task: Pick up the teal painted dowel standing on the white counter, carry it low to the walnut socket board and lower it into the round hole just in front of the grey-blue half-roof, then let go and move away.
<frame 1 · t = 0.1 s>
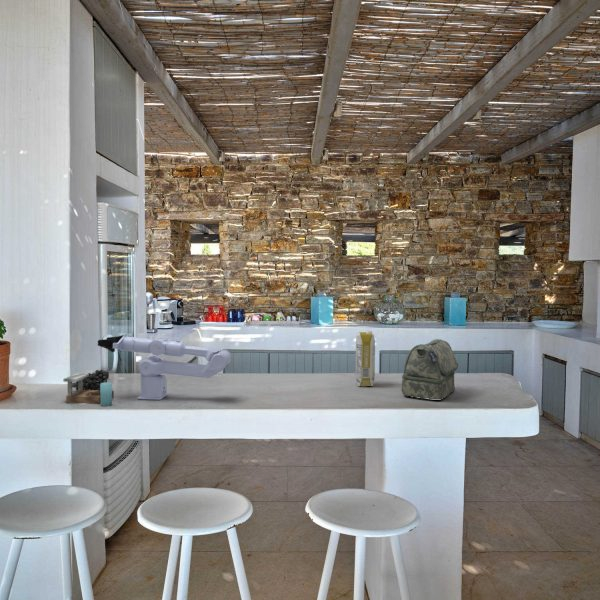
hand: (102, 341, 217), 22 cm above the bar counter, tool horizontal, fingers open, 7 cm apart
juice carton: (364, 385, 242), on the bar counter
socket station: (90, 399, 212), on the bar counter
lunch bag: (429, 394, 227), on the bar counter
fruit: (91, 391, 228), on the bar counter
peg: (106, 404, 205), on the bar counter
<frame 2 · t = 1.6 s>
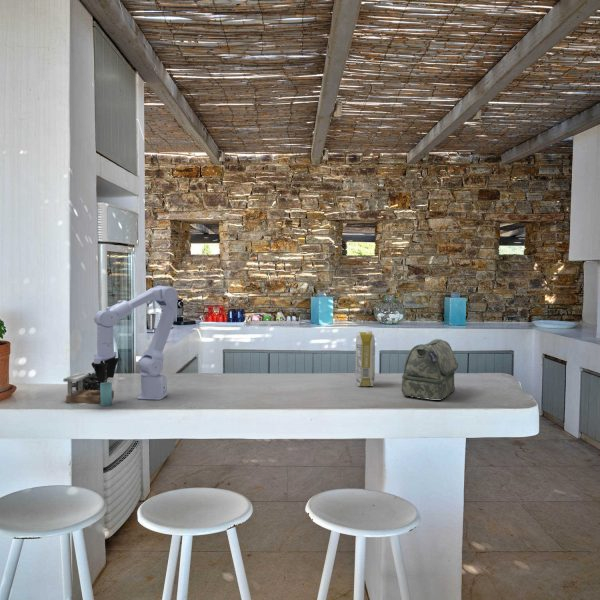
hand: (105, 379, 205), 9 cm above the bar counter, tool pointing down, fingers open, 7 cm apart
nothing on the bar counter moved.
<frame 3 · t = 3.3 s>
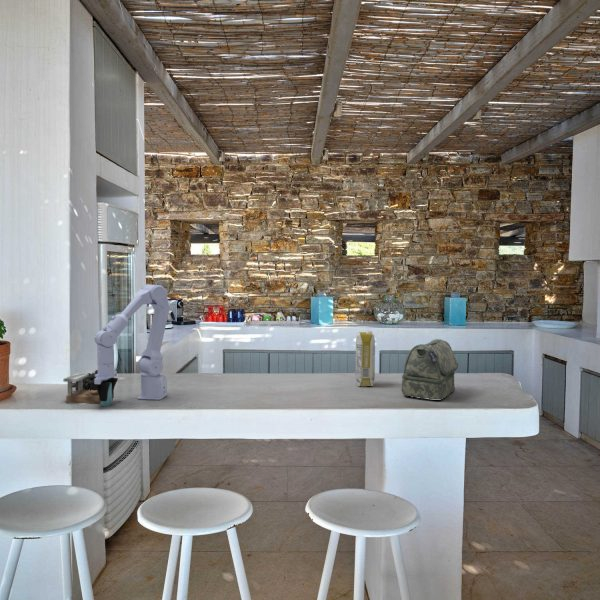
hand: (106, 399, 205), 2 cm above the bar counter, tool pointing down, fingers closed on peg, 4 cm apart
peg: (106, 404, 205), on the bar counter, touching gripper
everything else where it was.
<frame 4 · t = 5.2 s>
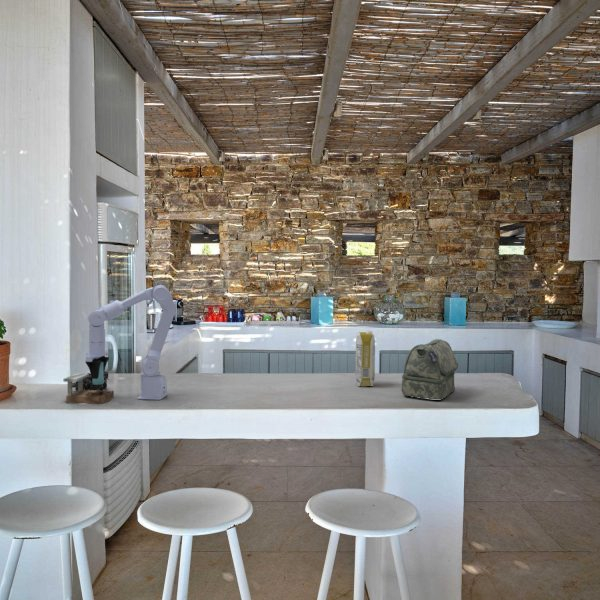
hand: (97, 377, 211), 9 cm above the bar counter, tool pointing down, fingers closed on peg, 4 cm apart
peg: (98, 383, 211), point 6 cm above the bar counter, touching gripper
everything else where it was.
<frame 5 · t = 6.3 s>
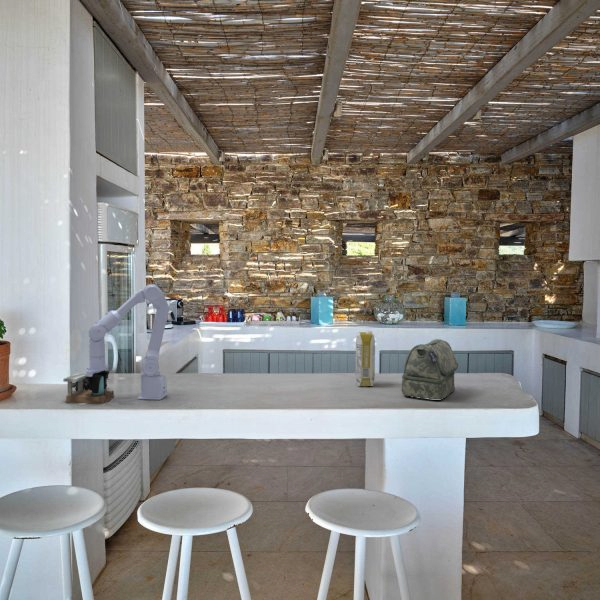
hand: (97, 391, 211), 3 cm above the bar counter, tool pointing down, fingers closed on peg, 4 cm apart
peg: (98, 397, 212), point 1 cm above the bar counter, touching gripper
everything else where it was.
when the fingers open (3 cm above the bar counter, at t = 7.3 s): peg stays where it is, resting in socket station.
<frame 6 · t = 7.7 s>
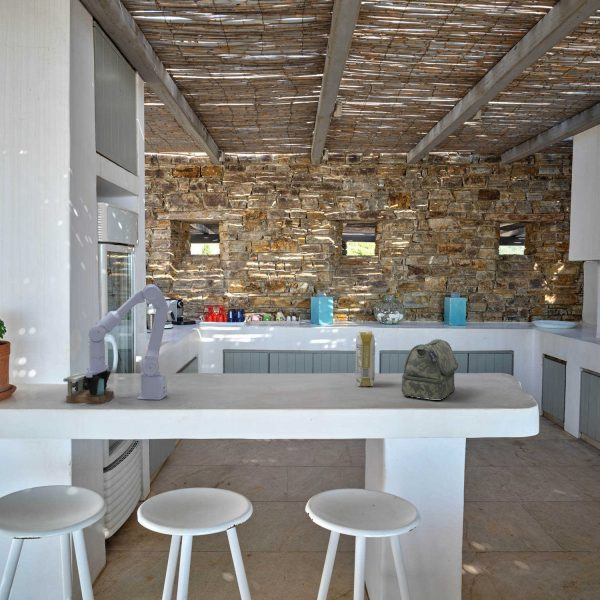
hand: (98, 392, 211), 3 cm above the bar counter, tool pointing down, fingers open, 7 cm apart
peg: (98, 400, 212), resting in socket station
everything else where it was.
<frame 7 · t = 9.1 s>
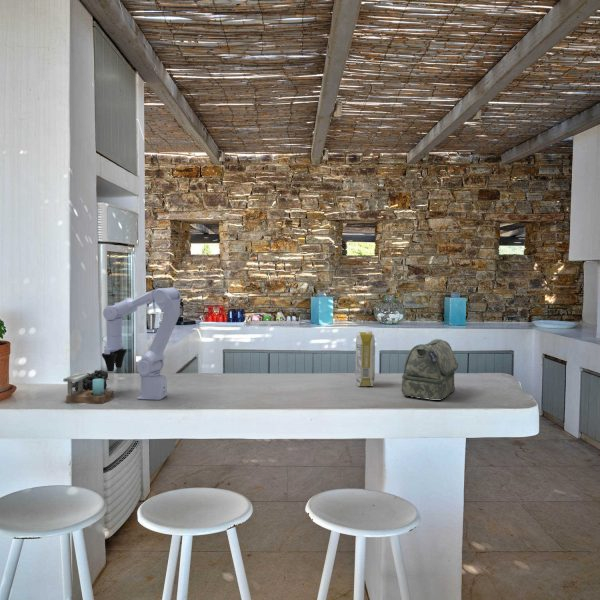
hand: (114, 369, 222), 10 cm above the bar counter, tool pointing down, fingers open, 7 cm apart
nothing on the bar counter moved.
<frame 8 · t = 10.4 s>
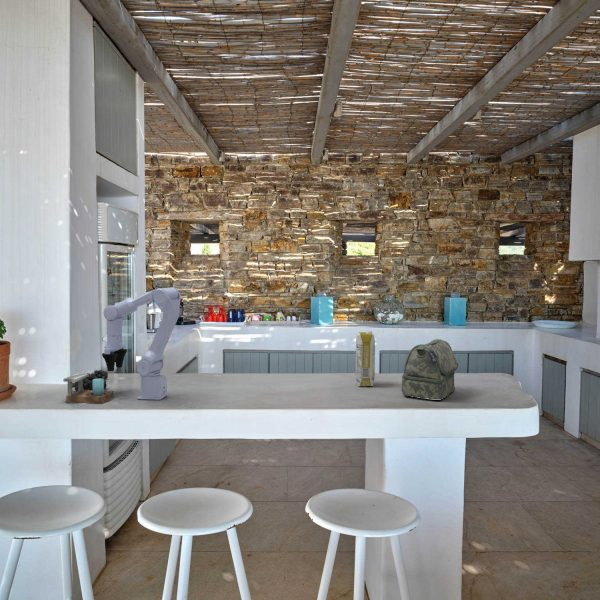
hand: (115, 369, 222), 10 cm above the bar counter, tool pointing down, fingers open, 7 cm apart
nothing on the bar counter moved.
at the end: peg 0.1 cm from the target spot in the socket station, point 0.0 cm above the socket station's base; peg tilted 0°; the gripper is holding nothing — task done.
